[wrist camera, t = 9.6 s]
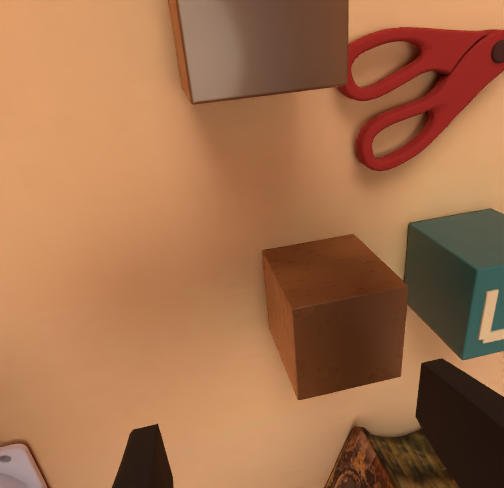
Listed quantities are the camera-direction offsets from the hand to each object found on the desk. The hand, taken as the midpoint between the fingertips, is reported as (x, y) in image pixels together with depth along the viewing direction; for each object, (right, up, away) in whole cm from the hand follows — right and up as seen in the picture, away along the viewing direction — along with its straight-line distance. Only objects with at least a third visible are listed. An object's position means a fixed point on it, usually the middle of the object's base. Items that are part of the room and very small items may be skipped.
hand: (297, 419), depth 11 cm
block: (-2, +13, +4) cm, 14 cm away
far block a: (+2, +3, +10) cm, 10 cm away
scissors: (+9, +13, +7) cm, 17 cm away
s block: (+9, +4, +11) cm, 15 cm away
